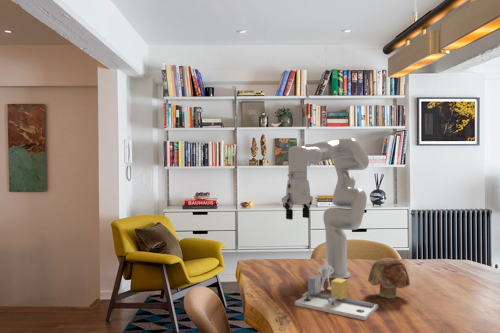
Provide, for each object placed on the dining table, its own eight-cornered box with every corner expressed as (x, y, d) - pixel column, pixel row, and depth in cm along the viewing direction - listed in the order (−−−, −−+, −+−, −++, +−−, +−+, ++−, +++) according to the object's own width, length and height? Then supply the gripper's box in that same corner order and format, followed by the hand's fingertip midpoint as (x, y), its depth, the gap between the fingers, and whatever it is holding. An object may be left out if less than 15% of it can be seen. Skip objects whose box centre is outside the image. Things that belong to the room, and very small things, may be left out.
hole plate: (311, 294, 153) (311, 291, 153) (378, 307, 138) (378, 304, 138) (295, 305, 142) (294, 301, 142) (365, 320, 127) (365, 316, 127)
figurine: (331, 287, 163) (330, 258, 163) (336, 290, 159) (336, 261, 159) (315, 289, 160) (315, 260, 160) (320, 292, 156) (320, 262, 156)
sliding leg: (336, 297, 146) (336, 277, 146) (347, 299, 143) (346, 279, 144) (323, 305, 136) (323, 285, 136) (334, 308, 134) (334, 287, 134)
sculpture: (391, 306, 139) (390, 264, 139) (359, 294, 153) (359, 256, 153) (419, 299, 146) (419, 260, 146) (387, 288, 160) (387, 252, 160)
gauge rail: (311, 293, 152) (311, 274, 152) (375, 305, 137) (375, 284, 137) (297, 301, 142) (297, 281, 142) (364, 315, 128) (364, 293, 128)
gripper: (289, 176, 150) (289, 220, 149) (318, 176, 161) (318, 217, 160) (276, 176, 155) (275, 219, 155) (305, 176, 166) (305, 216, 166)
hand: (297, 218), depth 158 cm, fingers open, 9 cm apart
